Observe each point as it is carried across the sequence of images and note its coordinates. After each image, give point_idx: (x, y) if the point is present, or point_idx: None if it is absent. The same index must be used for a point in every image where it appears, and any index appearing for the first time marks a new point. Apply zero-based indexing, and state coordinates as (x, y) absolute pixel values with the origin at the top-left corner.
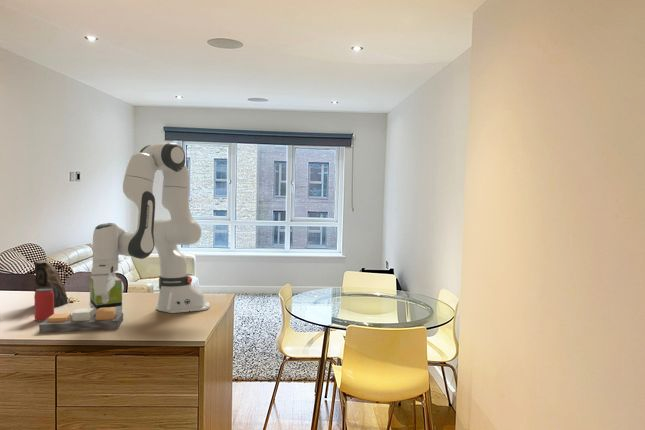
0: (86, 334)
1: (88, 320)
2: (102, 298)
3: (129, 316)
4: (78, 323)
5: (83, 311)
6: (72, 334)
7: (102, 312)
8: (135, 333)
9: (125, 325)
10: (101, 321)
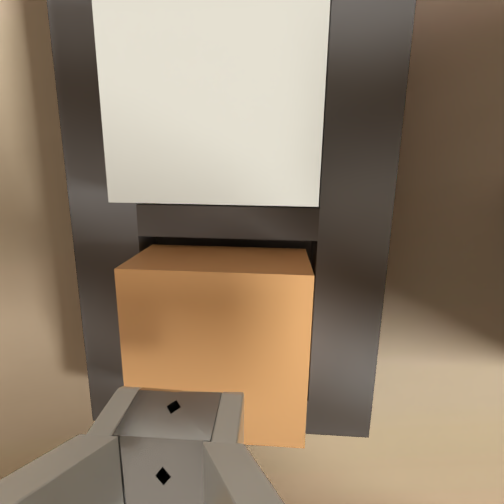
0: (7, 195)
1: None
2: (68, 448)
3: (456, 424)
4: (60, 101)
5: (151, 107)
6: (11, 86)
7: (123, 331)
8: None
9: None
10: (87, 302)
